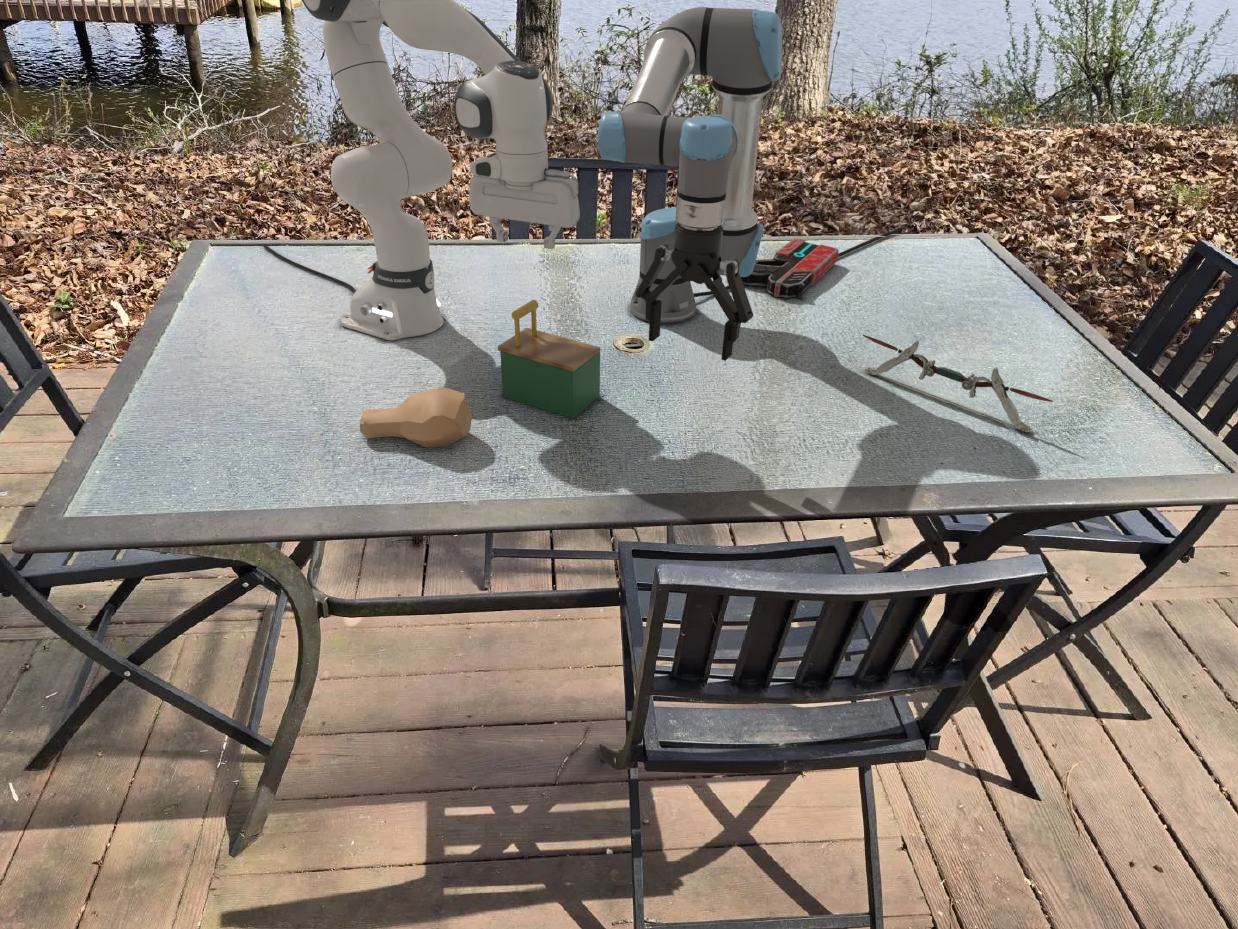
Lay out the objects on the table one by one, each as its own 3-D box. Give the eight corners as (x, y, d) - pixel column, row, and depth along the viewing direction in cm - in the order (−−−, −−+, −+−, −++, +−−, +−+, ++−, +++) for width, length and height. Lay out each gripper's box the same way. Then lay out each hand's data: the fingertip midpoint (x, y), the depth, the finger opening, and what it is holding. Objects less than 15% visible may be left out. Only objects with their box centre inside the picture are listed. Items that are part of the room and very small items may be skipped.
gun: (726, 267, 216) (800, 286, 208) (775, 231, 238) (843, 246, 230) (724, 284, 219) (797, 304, 211) (772, 247, 241) (840, 263, 233)
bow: (1043, 434, 162) (1060, 387, 156) (1039, 438, 161) (1056, 390, 155) (858, 366, 183) (867, 322, 178) (854, 369, 182) (862, 324, 177)
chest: (502, 396, 169) (500, 351, 164) (531, 376, 177) (529, 332, 171) (573, 418, 163) (573, 372, 158) (599, 396, 170) (600, 351, 165)
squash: (473, 454, 152) (461, 415, 146) (361, 463, 154) (345, 424, 148) (480, 414, 160) (469, 375, 154) (374, 422, 162) (359, 384, 155)
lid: (497, 350, 164) (495, 311, 160) (527, 331, 171) (525, 293, 167) (573, 372, 158) (572, 331, 153) (600, 351, 165) (600, 312, 160)
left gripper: (585, 168, 150) (585, 246, 158) (479, 155, 156) (484, 231, 164) (570, 177, 145) (571, 258, 153) (461, 163, 151) (468, 242, 159)
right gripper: (618, 215, 139) (614, 338, 150) (765, 245, 129) (749, 374, 140) (640, 203, 144) (635, 323, 156) (783, 231, 134) (767, 356, 146)
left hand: (525, 244), depth 158 cm, fingers open, 8 cm apart
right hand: (689, 347), depth 148 cm, fingers open, 13 cm apart
